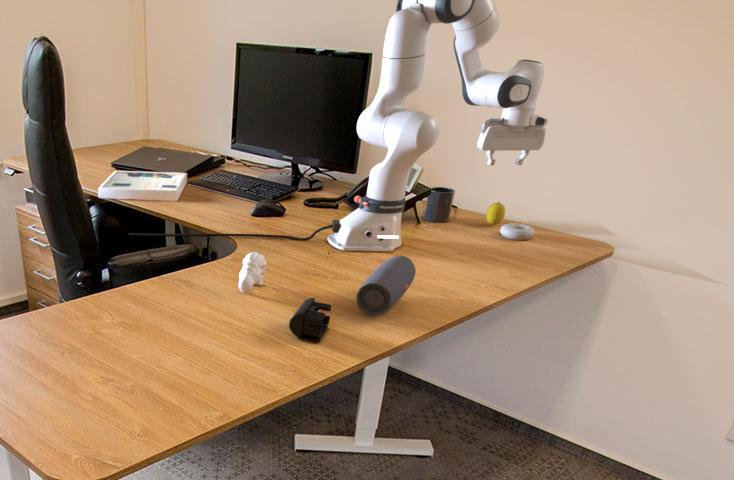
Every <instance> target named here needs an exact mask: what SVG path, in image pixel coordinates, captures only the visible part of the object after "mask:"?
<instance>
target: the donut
mask: <svg viewBox="0 0 734 480" xmlns="http://www.w3.org/2000/svg"><path fill="white" fill-rule="evenodd" d="M499 233H500V234H501V235H502V237H504V238H506V239H508V240H509V239H510V240H515V241H528V240H531V239H532V238H533V237H534V236H535V234H536V231H535V229H534V227H532V226H530V225H528V224H525V223H517V222H509V223H504V224H503V225H502V226H501V227H500V229H499Z"/></svg>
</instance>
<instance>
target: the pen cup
mask: <svg viewBox="0 0 734 480" xmlns="http://www.w3.org/2000/svg"><path fill="white" fill-rule="evenodd" d="M429 189H431V194H430V195H429V196H428V195H427V200H426V204H425V210H424V214H423V215H424V216H423V220H425V221H427V222H431V223H441V224H442V223H447V222H449V220H450V218H451V217H450V216H451V211H452V207H453V203H454V198H455V194H456V190H455V189H454V188H450V187H445V186H435V187H434V186H433V187H430V188H429Z"/></svg>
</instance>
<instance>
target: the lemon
mask: <svg viewBox="0 0 734 480" xmlns="http://www.w3.org/2000/svg"><path fill="white" fill-rule="evenodd" d="M505 216H506V207H505V206H504V204H503V203H501V202H500V201H497V202H494V203H492V204H491V205H489V207H488V208H487V210H486V215H485V220H486V222H487V223H488V224H490V225H491V227H494V226H495V225H498V224H501V222H502V221H503V220H504V218H505Z"/></svg>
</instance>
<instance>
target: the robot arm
mask: <svg viewBox="0 0 734 480" xmlns="http://www.w3.org/2000/svg"><path fill="white" fill-rule="evenodd" d="M395 10H396V11H395V13H394V14H393V15H392V16H391V17H390V19H389V21H388V25H387V28H386V32H385V36H384V41H383V42H384V43H383V47H382V49H383V50H382V57H381V58H382V59H381V60H382V61H381V69H380V79H379V83H378V84H379V85H378V88H377V92H376V94H375V97H374V98H373V100H372V101H371V103H370V104H369V106H367V107H366V108H365V109H364V110H363V111H362V112H361V113H360V115H359V117H358V118H357V122H356V133H357V136H358V138H359V139H360V140H362V141H364V142H366V144H368V145H369V144H370V145H371V146H375V147H376V146H377V147H379V148H380V147H381V148H385V149H387V153H386V156H385V158H384V160H382V161H381V162H378V163H376V164H375V165H374V166H373V167H372V168H371V169H370V172H369V176H368V182H367V183H368V184H367V189H366V194H364V196H363V197H361V195H355V196H354V198H353V201H354V202H355V203H357V204H358V208H356V209H355V210H353V211H352V212H351V213H348V214H347V215H345V216H344V217H343V218H341V219H340V220H339V219H332V220H331V224H329V225H325V226H322V227H320V228H318V229H316V230H314V232H312V233H311V234H310V235H309V236H306V237H296V236H291V235H284V234H282V235H281V234H263V233H261V234H260V233H142V232H141V233H139V232H128V233H127V236H129V237H131V236H132V237H162V238H163V237H167V238H168V237H174V238H177V237H180V238H181V237H185V238H186V237H187V238H188V237H245V238H246V237H247V238H248V237H250V238H251V237H252V238H276V239H277V238H278V239H289V240H294V241H308V240H311V239H313V238H314V237H315V236H316V235H317V234H318V233H319V232H321V231H325V230H328V229H331V230H332V233H330V234H328V236H327V243H329V244H330V245H331V246H332V247H334V248H335V249H338V250H341V251H343V252H345V251H346V252H348V251H349V252H387V253H389V252H394V250H395V249H397V248H399V247H401V246H402V245H403V242H402V229H401V228H402V217H403V215H404V211H405V206H406V197H405V196H406V191H407V187H408V182H409V178H410V174H411V171H412V169H413V167H414V165H415V164H416V162H417V161H418V159H419V158H420V157H421V156H422V155H423V154H425V153H426V152H428V151H430V150H431V149H432V148H433V147H434V146H435V144H436V142H437V141H438V138H439V134H440V122H439V121H438V119H437V118H436V117H435V116H433V115H431V114H429V113H426V112H424V111H422V110H421V111H420V110H414V109H407V108H405V103H406V100H407V98H408V96H409V95H411V94H414V92H416V91H417V90H418V89H419V88H420V87H421V85H422V83H423V78H424V69H425V62H426V61H425V60H426V51H427V35H428V32H429V30H430V27H431V26H432V24H446V25H448V24H449V25H450V24H451V26H452V28H453V31H454V34H455V35H454V38H453V50H454V56H455V59H456V63H457V67H458V71H459V75H460V78H461V79H460V80H461V93H462V94H461V95H462V98H463V101H464V102H465V103H466V104H467V105H469V106H479V107H486V108H496V109H502V112H501V116H500V118H498V117H497V118H493V117H492V118H491V117H490V118H489V119H487V120H486V121H484V122H483V124H482V126H481V127H482V128H481V132H480V134H479V137H478V140H477V143H476V147H477V149H478V150H480V151H482V152H483V151H485V154H486V157H487V162H486V165H487V166H495V164H496V159H494V156H493V155H494V154H495V151H501V152H502V151H520V153H521V154H520V156H518V157H517V158H515V162H514V165H516V166H522V165H523V164H524V160H525V159H526V158H527V157H528V155H529V154H530V151H539V150H540V149H542V147H544V146H543V145H544V143H545V139H546V133H547V129H546V127H545V126H547V125H548V122H549V119H548V118H547V117H544V116H542V115H540V114H537V113H535V111H536V107H537V105H536V104H537V103H536V102H537V99H538V97H539V95H540V94H541V89H542V86H543V81H544V80H543V79H544V74H545V65H544V64H543V63H542V62H540V61H537V60H531V59H518V61H517V62H516V63H515V65H514V66H513V67H511V68H510V69H508V70H506V71H503V72H501V71H492V70H488V69H487V68H485V67H484V66H483V65H482V62H481V61H482V60H481V57H480V52H479V49H481V48H483V47H484V46H486V45H487V44H488V43H489V42H490V41H491V40H492V39H493V38H494V37H495V35H496V33H497V32H498V29H499V26H500V14H499V11H498V8H497V6H496V3H495V0H397V2H396V7H395Z"/></svg>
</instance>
